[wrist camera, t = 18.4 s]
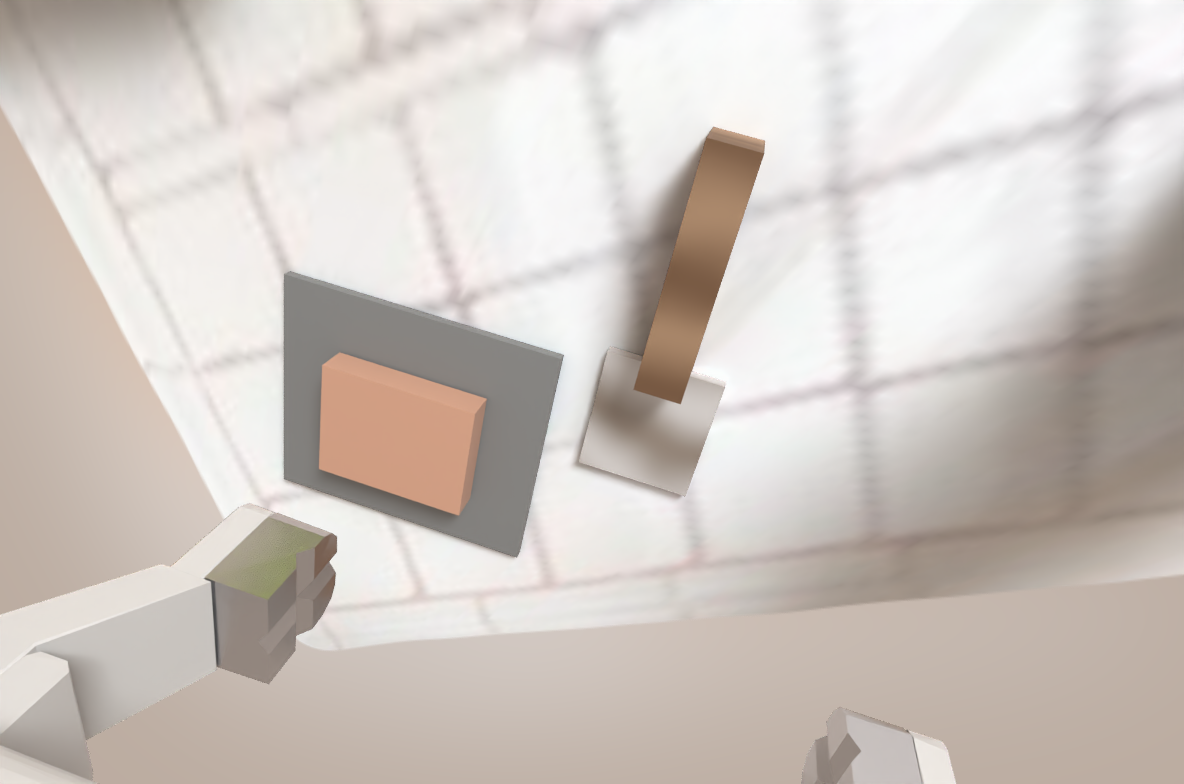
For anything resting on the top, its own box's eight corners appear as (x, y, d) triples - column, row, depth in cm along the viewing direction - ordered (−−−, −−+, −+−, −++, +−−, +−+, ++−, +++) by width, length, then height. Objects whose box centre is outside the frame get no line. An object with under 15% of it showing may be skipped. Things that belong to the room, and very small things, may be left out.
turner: (670, 115, 34) (658, 124, 31) (808, 152, 34) (813, 166, 30) (581, 455, 45) (563, 494, 41) (686, 489, 44) (678, 532, 40)
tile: (475, 413, 42) (458, 515, 45) (487, 397, 43) (471, 496, 47) (322, 365, 43) (318, 468, 46) (340, 351, 44) (336, 452, 48)
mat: (563, 355, 42) (561, 359, 41) (519, 552, 49) (516, 557, 49) (290, 271, 43) (283, 274, 43) (288, 474, 51) (284, 478, 51)
